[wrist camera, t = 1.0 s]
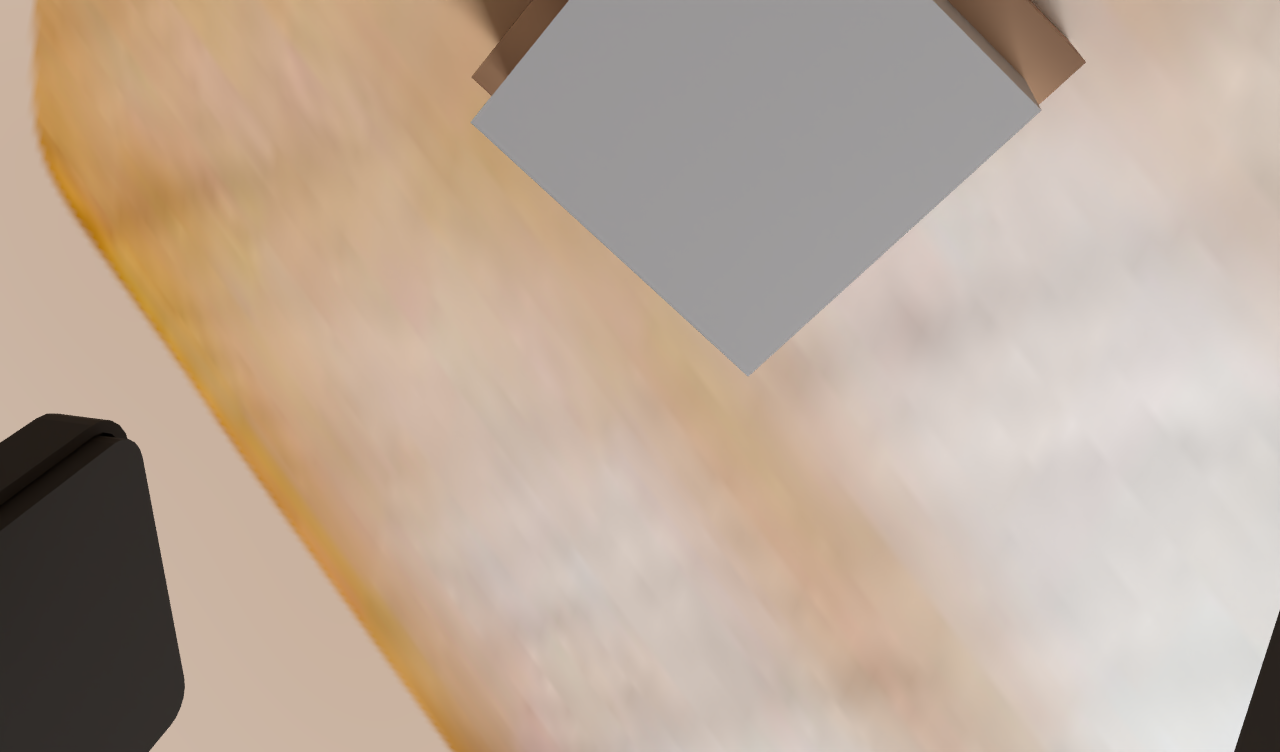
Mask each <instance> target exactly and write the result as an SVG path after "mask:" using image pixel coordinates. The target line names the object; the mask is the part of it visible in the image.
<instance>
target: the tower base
mask: <svg viewBox="0 0 1280 752" xmlns="http://www.w3.org/2000/svg"><path fill="white" fill-rule="evenodd" d="M568 1H569V0H532V1H531V3H530V4H529V5H528V6H527V8H526V9H525V10H524V11H523V13H522V14H521V15H520V16H519V18H518V19H517V20H516V22H515V23H514V24H513V25H512V27H511V28H510V29H509V30H508V32H507V33H506V34H505V35H504V37H503V38H502V39H501V40H500V42H499V43H498V44H497V45H496V47H495V48H494V49H493V50H492V52H491V53H490V54H489V56H488V57H487V58H486V59H485V61H484V62H483V63H482V64H481V66H480V67H479V68H478V69H477V71H476V72H475V73H474V74H473V76H472V78H473V79H474V80H475V81H476V82H477V83H478V84H479V85H480V86H481V87H483V88H484V89H485V90H486V91H487V92H488V93H489V94H490V95H491V96H492V95H493V94H494V93H495V91H496V90H497V89H498V88H499V86H500V85H501V84H502V83H503V81H504V80H505V79H506V78H507V76H508V75H509V74H510V73H511V72H512V70H513V69H514V68H515V67H516V65H517V64H518V63H519V62H520V60H521V59H522V58H523V57H524V55H525V54H526V53H527V52H528V50H529V49H530V48H531V47H532V46H533V44H534V43H535V42H536V41H537V39H538V38H539V37H540V36H541V34H542V33H543V32H544V31H545V29H546V28H547V27H548V26H549V24H550V23H551V22H552V21H553V19H554V18H555V17H556V16H557V15H558V13H559V12H560V11H561V10H562V8H563V7H564V6H565V5H566V3H567V2H568ZM948 1H949V2H950V4H951V5H952V6H953V7H954V8H955V9H956V10H957V11H958V12H959V13H960V14H961V15H962V16H963V17H964V18H965V19H966V20H967V21H968V22H969V23H970V24H971V25H972V26H973V27H974V28H975V29H976V30H977V31H978V32H979V33H980V34H981V35H982V36H983V37H984V38H985V39H986V40H987V41H988V42H989V43H990V44H991V45H992V46H993V47H994V48H995V49H996V50H997V51H998V52H999V53H1000V54H1001V55H1002V56H1003V57H1004V58H1005V59H1006V60H1007V61H1008V62H1009V63H1010V64H1011V65H1012V66H1013V68H1014V69H1015V70H1016V71H1017V72H1018V73H1019V74H1020V75H1021V76H1022V77H1023V78H1024V79H1025V80H1026V82H1027V84H1028V86H1029V88H1030V90H1031V92H1032V93H1033V95H1034V97H1035V99H1036V101H1037V103H1038V105H1039V104H1040V103H1041V102H1042V101H1044V100H1045V99H1046V98H1047V97H1048V96H1049V95H1050V94H1051V93H1052V92H1054V91H1055V90H1056V89H1057V88H1058V87H1059V86H1060V85H1061V84H1062V83H1064V82H1065V81H1066V80H1067V79H1068V78H1069V77H1070V76H1071V75H1072V74H1073V73H1075V72H1076V71H1077V70H1078V69H1079V68H1080V67H1081V66H1082V65H1083V64H1085V63H1086V62H1085V60H1084V59H1083V58H1082V57H1081V55H1080V54H1079V53H1078V52H1077V50H1076V49H1075V48H1074V47H1073V45H1072V44H1071V43H1070V42H1069V40H1068V39H1067V38H1066V37H1065V36H1064V35H1063V34H1062V33H1061V32H1060V31H1059V30H1058V29H1057V28H1056V27H1055V26H1054V25H1053V24H1052V23H1051V22H1050V21H1049V20H1048V19H1047V18H1046V17H1045V15H1044V14H1043V13H1042V12H1041V11H1040V10H1039V9H1038V8H1037V7H1036V6H1035V5H1034V4H1033V3H1032V2H1031V1H1030V0H948Z"/></svg>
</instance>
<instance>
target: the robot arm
mask: <svg viewBox="0 0 1280 752" xmlns="http://www.w3.org/2000/svg"><path fill="white" fill-rule="evenodd" d="M184 689H185V684H184V675H183V670H182V665H181V659H180V654H179V649H178V643H177V638H176V632H175V627H174V622H173V617H172V611H171V606H170V600H169V595H168V590H167V585H166V579H165V574H164V569H163V564H162V558H161V553H160V547H159V543H158V537H157V531H156V527H155V521H154V516H153V511H152V505H151V500H150V494H149V489H148V484H147V479H146V473H145V468H144V462H143V458H142V454H141V451H140V449H139V447H138V446H137V445H136V443H135V442H133V441H131V440H129V439H127V436H126V433H125V432H124V431H123V429H122V428H121V427H120V425H118V424H116V423H114V422H113V421H110V420H103V419H95V418H87V417H79V416H71V415H64V414H45V415H43V416H41V417H39V418H36V419H35V420H33V421H32V422H30V423H29V424H28V425H26V426H25V427H23V428H22V429H20V430H19V431H17V432H16V433H14V434H13V435H11V436H10V437H8V438H7V439H5V440H4V441H2V442H1V443H0V752H149V751H150V749H151V748H152V747H153V746H154V745H155V743H156V742H157V741H158V740H159V738H160V737H161V736H162V735H163V734H164V733H165V731H166V730H167V729H168V728H169V727H170V725H171V724H172V722H173V721H174V719H175V718H176V716H177V714H178V712H179V710H180V707H181V704H182V700H183V696H184ZM1234 752H1280V612H1279V615H1278V618H1277V621H1276V624H1275V627H1274V630H1273V633H1272V636H1271V639H1270V642H1269V646H1268V649H1267V652H1266V655H1265V658H1264V661H1263V664H1262V667H1261V670H1260V673H1259V677H1258V680H1257V683H1256V686H1255V689H1254V692H1253V695H1252V698H1251V701H1250V704H1249V708H1248V711H1247V714H1246V717H1245V720H1244V723H1243V726H1242V729H1241V732H1240V735H1239V739H1238V742H1237V745H1236V748H1235V751H1234Z"/></svg>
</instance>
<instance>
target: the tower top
mask: <svg viewBox="0 0 1280 752" xmlns="http://www.w3.org/2000/svg"><path fill="white" fill-rule="evenodd" d="M1040 111H1041V109H1040V107H1039V105H1038V103H1037V101H1036V99H1035V97H1034V95H1033V93H1032V92H1031V90H1030V88H1029V86H1028V84H1027V82H1026V80H1025V79H1024V78H1023V77H1022V76H1021V75H1020V74H1019V73H1018V72H1017V71H1016V70H1015V69H1014V68H1013V66H1012V65H1011V64H1010V63H1009V62H1008V61H1007V60H1006V59H1005V58H1004V57H1003V56H1002V55H1001V54H1000V53H999V52H998V51H997V50H996V49H995V48H994V47H993V46H992V45H991V44H990V43H989V42H988V41H987V40H986V39H985V38H984V37H983V36H982V35H981V34H980V33H979V32H978V31H977V30H976V29H975V28H974V27H973V26H972V25H971V24H970V23H969V22H968V21H967V20H966V19H965V18H964V17H963V16H962V15H961V14H960V13H959V12H958V11H957V10H956V9H955V8H954V7H953V6H952V5H951V4H950V2H949V1H948V0H569V1H568V2H567V3H566V5H565V6H564V7H563V8H562V10H561V11H560V12H559V13H558V15H557V16H556V17H555V18H554V19H553V21H552V22H551V23H550V24H549V26H548V27H547V28H546V29H545V31H544V32H543V33H542V34H541V36H540V37H539V38H538V39H537V41H536V42H535V43H534V44H533V46H532V47H531V48H530V49H529V50H528V52H527V53H526V54H525V55H524V57H523V58H522V59H521V60H520V62H519V63H518V64H517V65H516V67H515V68H514V69H513V70H512V72H511V73H510V74H509V75H508V76H507V78H506V79H505V80H504V81H503V83H502V84H501V85H500V86H499V88H498V89H497V90H496V91H495V93H494V94H493V95H492V96H491V98H490V99H489V100H488V101H487V103H486V104H485V105H484V106H483V107H482V109H481V110H480V111H479V112H478V114H477V115H476V116H475V117H474V119H473V120H472V121H471V123H472V124H473V125H474V126H475V127H476V128H477V129H478V130H479V131H480V132H482V133H483V134H484V135H485V136H486V137H487V138H488V139H489V140H490V141H491V142H492V143H494V144H495V145H496V146H497V147H498V148H499V149H500V150H501V151H502V152H503V153H504V154H506V155H507V156H508V157H509V158H510V159H511V160H512V161H513V162H514V163H515V164H516V165H518V166H519V167H520V168H521V169H522V170H523V171H524V172H525V173H526V174H527V175H528V176H530V177H531V178H532V179H533V180H534V181H535V182H536V183H537V184H538V185H539V186H540V187H542V188H543V189H544V190H545V191H546V192H547V193H548V194H549V195H550V196H551V197H553V198H554V199H555V200H556V201H557V202H558V203H559V204H560V205H561V206H562V207H563V208H565V209H566V210H567V211H568V212H569V213H570V214H571V215H572V216H573V217H574V218H575V219H577V220H578V221H579V222H580V223H581V224H582V225H583V226H584V227H585V228H586V229H587V230H589V231H590V232H591V233H592V234H593V235H594V236H595V237H596V238H597V239H598V240H599V241H601V242H602V243H603V244H604V245H605V246H606V247H607V248H608V249H609V250H610V251H611V252H613V253H614V254H615V255H616V256H617V257H618V258H619V259H620V260H621V261H622V262H623V263H625V264H626V265H627V266H628V267H629V268H630V269H631V270H632V271H633V272H634V273H635V274H637V275H638V276H639V277H640V278H641V279H642V280H643V281H644V282H645V283H646V284H647V285H649V286H650V287H651V288H652V289H653V290H654V291H655V292H656V293H657V294H658V295H660V296H661V297H662V298H663V299H664V300H665V301H666V302H667V303H668V304H669V305H670V306H672V307H673V308H674V309H675V310H676V311H677V312H678V313H679V314H680V315H681V316H682V317H684V318H685V319H686V320H687V321H688V322H689V323H690V324H691V325H692V326H693V327H694V328H696V329H697V330H698V331H699V332H700V333H701V334H702V335H703V336H704V337H705V338H706V339H708V340H709V341H710V342H711V343H712V344H713V345H714V346H715V347H716V348H717V349H718V350H720V351H721V352H722V353H723V354H724V355H725V356H726V357H727V358H728V359H729V360H730V361H732V362H733V363H734V364H735V365H736V366H737V367H738V368H739V369H740V370H741V371H742V372H744V373H745V374H746V375H747V376H749V375H750V374H752V373H753V372H754V371H755V370H756V369H757V368H758V367H759V366H760V365H761V364H763V363H764V362H765V361H766V360H767V359H768V358H769V357H770V356H771V355H773V354H774V353H775V352H776V351H777V350H778V349H779V348H780V347H781V346H782V345H784V344H785V343H786V342H787V341H788V340H789V339H790V338H791V337H792V336H793V335H795V334H796V333H797V332H798V331H799V330H800V329H801V328H802V327H803V326H804V325H806V324H807V323H808V322H809V321H810V320H811V319H812V318H813V317H814V316H815V315H817V314H818V313H819V312H820V311H821V310H822V309H823V308H824V307H825V306H826V305H828V304H829V303H830V302H831V301H832V300H833V299H834V298H835V297H836V296H838V295H839V294H840V293H841V292H842V291H843V290H844V289H845V288H846V287H847V286H849V285H850V284H851V283H852V282H853V281H854V280H855V279H856V278H857V277H858V276H860V275H861V274H862V273H863V272H864V271H865V270H866V269H867V268H868V267H869V266H871V265H872V264H873V263H874V262H875V261H876V260H877V259H878V258H879V257H880V256H882V255H883V254H884V253H885V252H886V251H887V250H888V249H889V248H890V247H891V246H893V245H894V244H895V243H896V242H897V241H898V240H899V239H900V238H901V237H903V236H904V235H905V234H906V233H907V232H908V231H909V230H910V229H911V228H912V227H914V226H915V225H916V224H917V223H918V222H919V221H920V220H921V219H922V218H923V217H925V216H926V215H927V214H928V213H929V212H930V211H931V210H932V209H933V208H934V207H936V206H937V205H938V204H939V203H940V202H941V201H942V200H943V199H944V198H945V197H947V196H948V195H949V194H950V193H951V192H952V191H953V190H954V189H955V188H956V187H958V186H959V185H960V184H961V183H962V182H963V181H964V180H965V179H966V178H968V177H969V176H970V175H971V174H972V173H973V172H974V171H975V170H976V169H977V168H979V167H980V166H981V165H982V164H983V163H984V162H985V161H986V160H987V159H988V158H990V157H991V156H992V155H993V154H994V153H995V152H996V151H997V150H998V149H999V148H1001V147H1002V146H1003V145H1004V144H1005V143H1006V142H1007V141H1008V140H1009V139H1010V138H1012V137H1013V136H1014V135H1015V134H1016V133H1017V132H1018V131H1019V130H1020V129H1021V128H1023V127H1024V126H1025V125H1026V124H1027V123H1028V122H1029V121H1030V120H1031V119H1032V118H1034V117H1035V116H1036V115H1037V114H1038V113H1039V112H1040Z"/></svg>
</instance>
